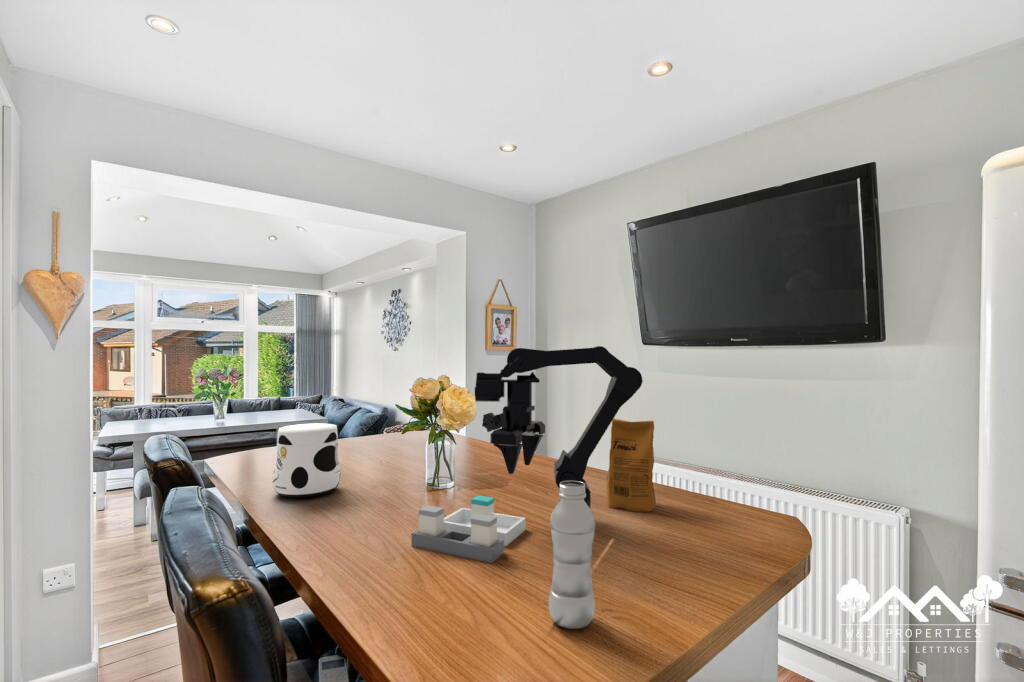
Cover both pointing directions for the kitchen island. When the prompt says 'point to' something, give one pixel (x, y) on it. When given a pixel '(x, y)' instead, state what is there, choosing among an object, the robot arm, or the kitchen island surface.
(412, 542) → the fuse holder
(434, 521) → the block
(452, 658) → the kitchen island surface
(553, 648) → the kitchen island surface
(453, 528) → the tray
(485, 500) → the block
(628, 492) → the coffee package
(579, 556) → the plastic bottle
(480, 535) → the fuse
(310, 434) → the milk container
